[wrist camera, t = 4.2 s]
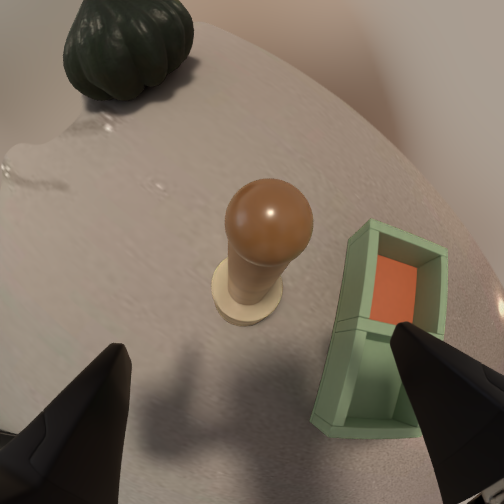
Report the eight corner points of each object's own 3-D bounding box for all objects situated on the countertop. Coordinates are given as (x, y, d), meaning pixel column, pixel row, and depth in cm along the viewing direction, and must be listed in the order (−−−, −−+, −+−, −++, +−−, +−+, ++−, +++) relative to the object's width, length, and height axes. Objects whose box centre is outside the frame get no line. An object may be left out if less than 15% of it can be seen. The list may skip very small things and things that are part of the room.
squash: (236, 44, 21) (174, -51, 12) (101, 116, 18) (35, 4, 9) (185, 75, 32) (140, 3, 23) (95, 132, 28) (46, 53, 19)
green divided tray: (392, 426, 16) (421, 437, 13) (308, 421, 16) (327, 437, 13) (419, 263, 21) (447, 248, 17) (348, 238, 21) (370, 217, 17)
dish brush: (282, 290, 19) (375, 190, 7) (251, 337, 18) (307, 321, 5) (235, 259, 20) (251, 118, 7) (203, 305, 19) (154, 220, 6)
